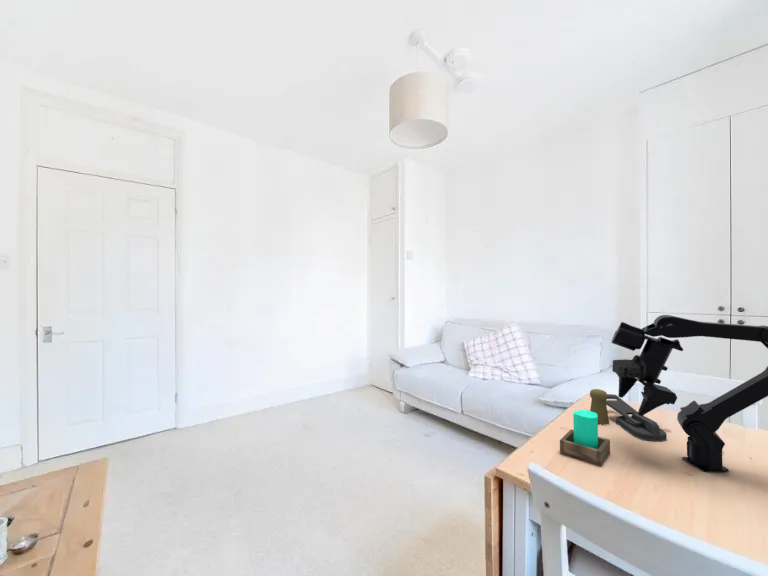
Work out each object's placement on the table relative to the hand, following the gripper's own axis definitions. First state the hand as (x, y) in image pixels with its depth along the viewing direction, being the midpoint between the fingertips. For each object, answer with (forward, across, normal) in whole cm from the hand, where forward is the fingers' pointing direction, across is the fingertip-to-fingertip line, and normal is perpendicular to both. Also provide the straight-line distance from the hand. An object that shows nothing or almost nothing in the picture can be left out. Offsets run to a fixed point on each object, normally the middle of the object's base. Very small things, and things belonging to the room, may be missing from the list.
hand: (629, 405), depth 96 cm
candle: (+14, +6, -10) cm, 19 cm away
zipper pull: (+13, -15, +14) cm, 24 cm away
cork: (+16, -17, +6) cm, 24 cm away
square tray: (+15, +6, -10) cm, 19 cm away
